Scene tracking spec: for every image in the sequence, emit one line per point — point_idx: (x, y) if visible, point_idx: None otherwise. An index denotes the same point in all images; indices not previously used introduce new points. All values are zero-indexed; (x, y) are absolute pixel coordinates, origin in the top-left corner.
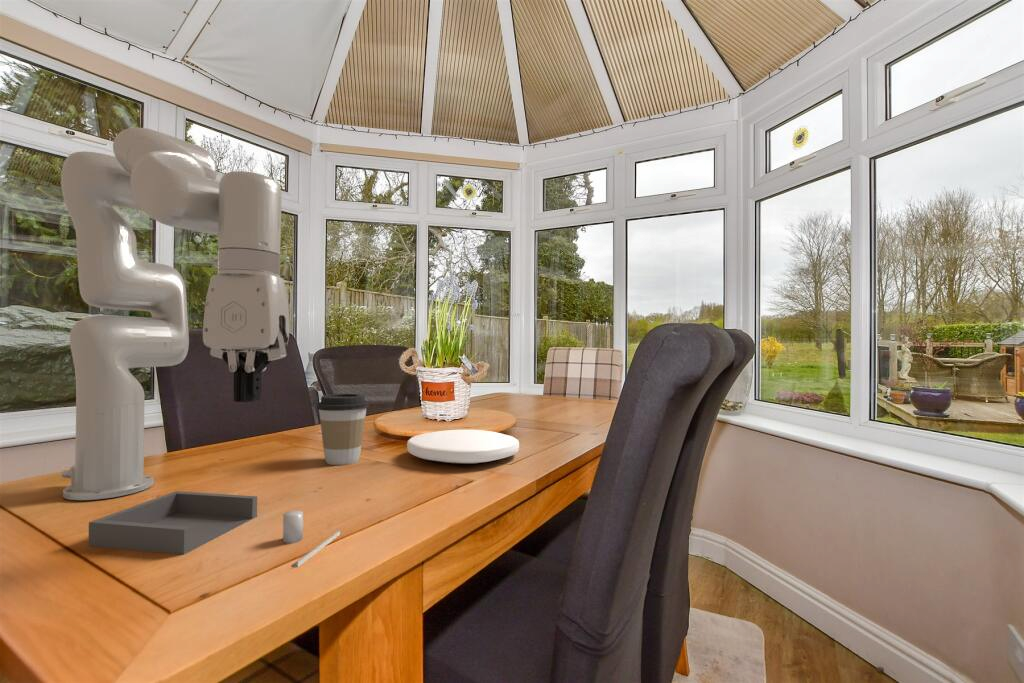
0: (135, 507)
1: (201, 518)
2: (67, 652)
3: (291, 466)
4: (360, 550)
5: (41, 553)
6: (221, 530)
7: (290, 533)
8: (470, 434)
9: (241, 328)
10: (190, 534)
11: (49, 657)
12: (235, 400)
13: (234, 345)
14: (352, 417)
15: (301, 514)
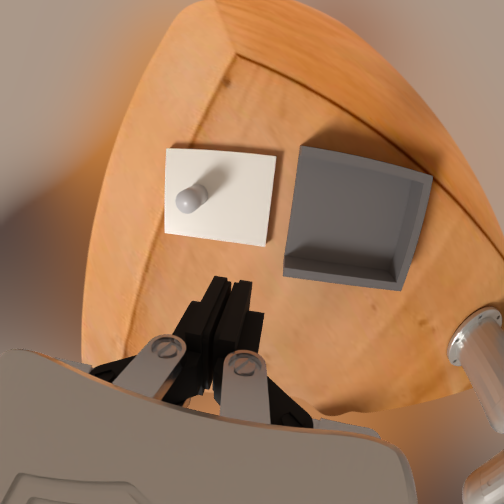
0: (415, 228)
1: (349, 254)
2: (275, 7)
3: (332, 415)
4: (130, 192)
5: (455, 176)
6: (301, 216)
7: (190, 186)
8: None
9: (63, 485)
10: (300, 155)
11: (282, 3)
12: (246, 281)
13: (151, 408)
14: None
15: (175, 200)
